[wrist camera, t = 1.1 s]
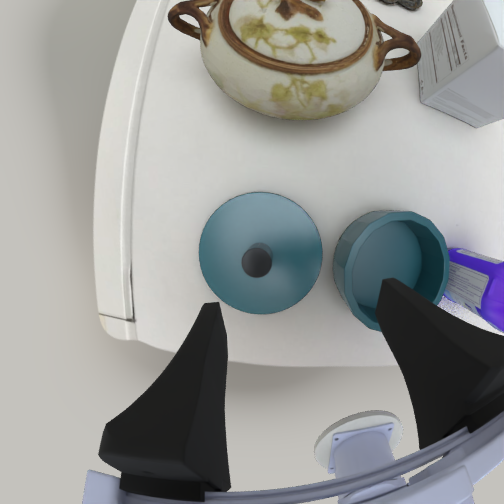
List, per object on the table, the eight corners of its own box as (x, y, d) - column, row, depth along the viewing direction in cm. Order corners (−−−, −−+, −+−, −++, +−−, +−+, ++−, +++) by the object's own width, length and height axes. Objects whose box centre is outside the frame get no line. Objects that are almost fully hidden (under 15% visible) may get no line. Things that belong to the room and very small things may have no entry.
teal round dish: (422, 305, 25) (444, 322, 20) (333, 318, 26) (343, 340, 22) (424, 208, 24) (449, 210, 19) (329, 213, 25) (341, 215, 20)
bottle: (423, 286, 25) (534, 362, 8) (443, 237, 24) (569, 273, 7) (463, 305, 25) (560, 372, 8) (481, 261, 24) (588, 303, 7)
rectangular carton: (470, 71, 20) (537, 28, 5) (477, 130, 21) (563, 103, 6) (413, 42, 20) (470, -25, 6) (418, 102, 22) (500, 44, 7)
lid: (322, 305, 26) (330, 324, 22) (209, 313, 28) (197, 331, 23) (315, 187, 25) (323, 183, 20) (195, 199, 26) (179, 198, 21)
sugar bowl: (385, 43, 21) (436, -36, 6) (380, 160, 23) (474, 119, 9) (213, 16, 22) (175, -72, 7) (182, 126, 25) (95, 61, 10)
